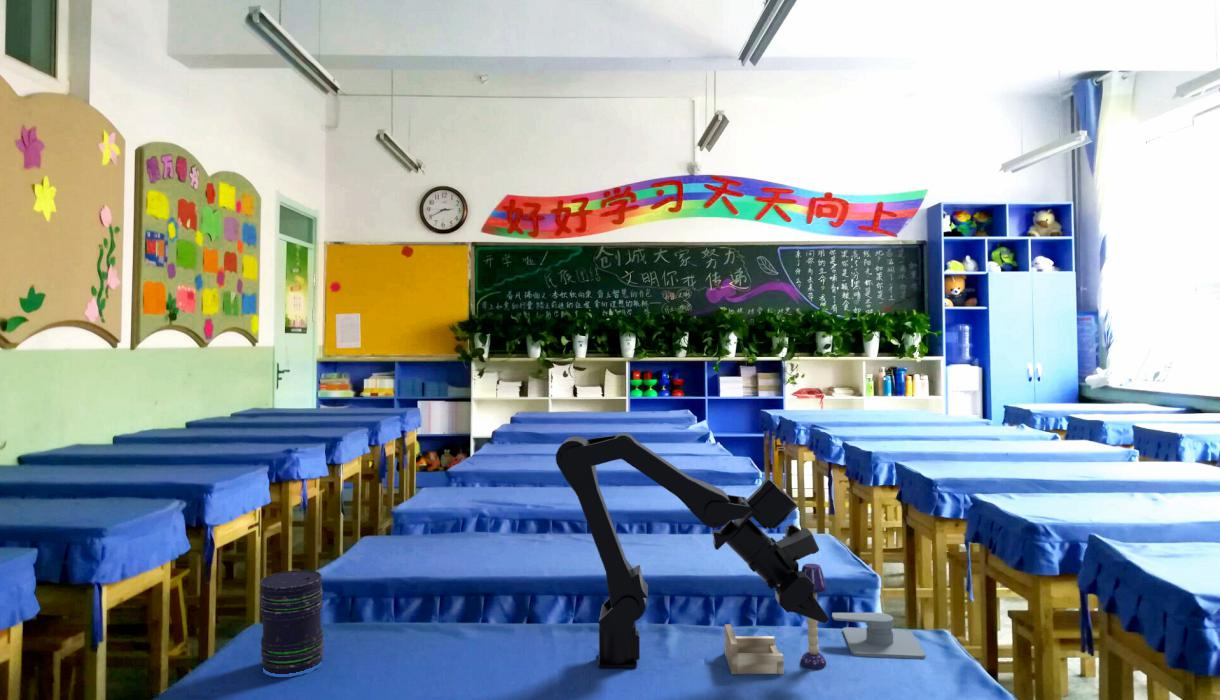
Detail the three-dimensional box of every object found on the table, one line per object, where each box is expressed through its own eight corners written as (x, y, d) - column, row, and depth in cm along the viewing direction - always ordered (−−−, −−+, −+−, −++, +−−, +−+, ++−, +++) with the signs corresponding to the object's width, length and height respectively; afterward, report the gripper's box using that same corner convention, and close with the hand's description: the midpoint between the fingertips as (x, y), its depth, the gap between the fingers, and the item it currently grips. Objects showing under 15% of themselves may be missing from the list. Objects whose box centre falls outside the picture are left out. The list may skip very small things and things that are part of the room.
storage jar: (250, 678, 137) (248, 587, 136) (276, 654, 146) (274, 569, 146) (310, 678, 136) (309, 587, 136) (332, 654, 146) (331, 570, 146)
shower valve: (827, 602, 157) (910, 605, 155) (827, 631, 157) (910, 634, 155) (837, 626, 145) (927, 629, 143) (837, 657, 145) (927, 661, 143)
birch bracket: (731, 674, 137) (731, 644, 137) (724, 652, 146) (724, 624, 146) (783, 674, 137) (783, 644, 137) (773, 652, 146) (773, 624, 146)
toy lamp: (792, 663, 141) (792, 565, 141) (806, 655, 145) (806, 559, 144) (818, 671, 138) (818, 571, 138) (832, 662, 141) (832, 565, 141)
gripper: (801, 527, 131) (871, 596, 132) (778, 502, 150) (839, 563, 150) (750, 577, 132) (821, 646, 132) (734, 546, 150) (796, 606, 150)
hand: (820, 612), depth 141 cm, fingers open, 8 cm apart
